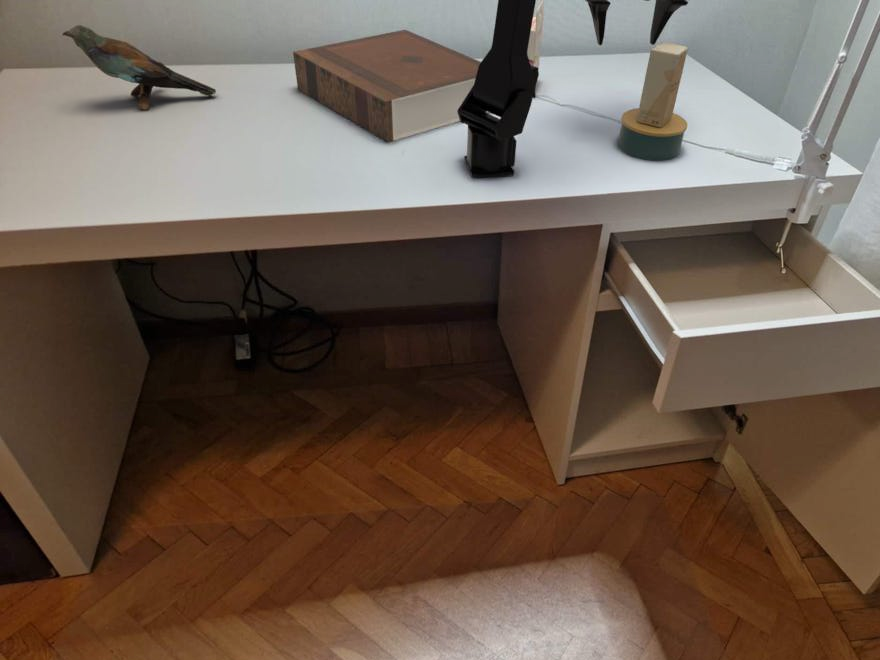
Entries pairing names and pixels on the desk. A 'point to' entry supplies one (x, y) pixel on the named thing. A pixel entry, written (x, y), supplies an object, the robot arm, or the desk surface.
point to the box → (661, 84)
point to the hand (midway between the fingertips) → (626, 44)
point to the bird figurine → (131, 65)
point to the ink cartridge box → (536, 37)
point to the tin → (651, 137)
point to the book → (388, 82)
